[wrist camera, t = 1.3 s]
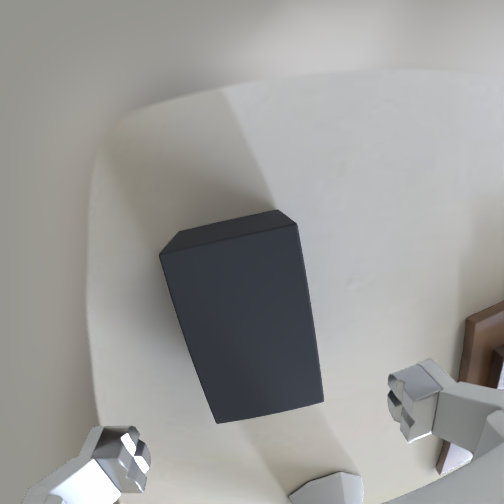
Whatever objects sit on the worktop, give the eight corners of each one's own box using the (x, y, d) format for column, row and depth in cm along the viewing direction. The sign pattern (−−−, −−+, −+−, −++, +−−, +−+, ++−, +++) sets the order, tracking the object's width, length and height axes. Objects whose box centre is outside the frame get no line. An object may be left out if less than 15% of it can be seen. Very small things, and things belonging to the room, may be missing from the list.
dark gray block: (177, 231, 17) (157, 254, 12) (278, 209, 17) (297, 222, 12) (218, 370, 19) (216, 424, 14) (304, 352, 19) (324, 402, 14)
